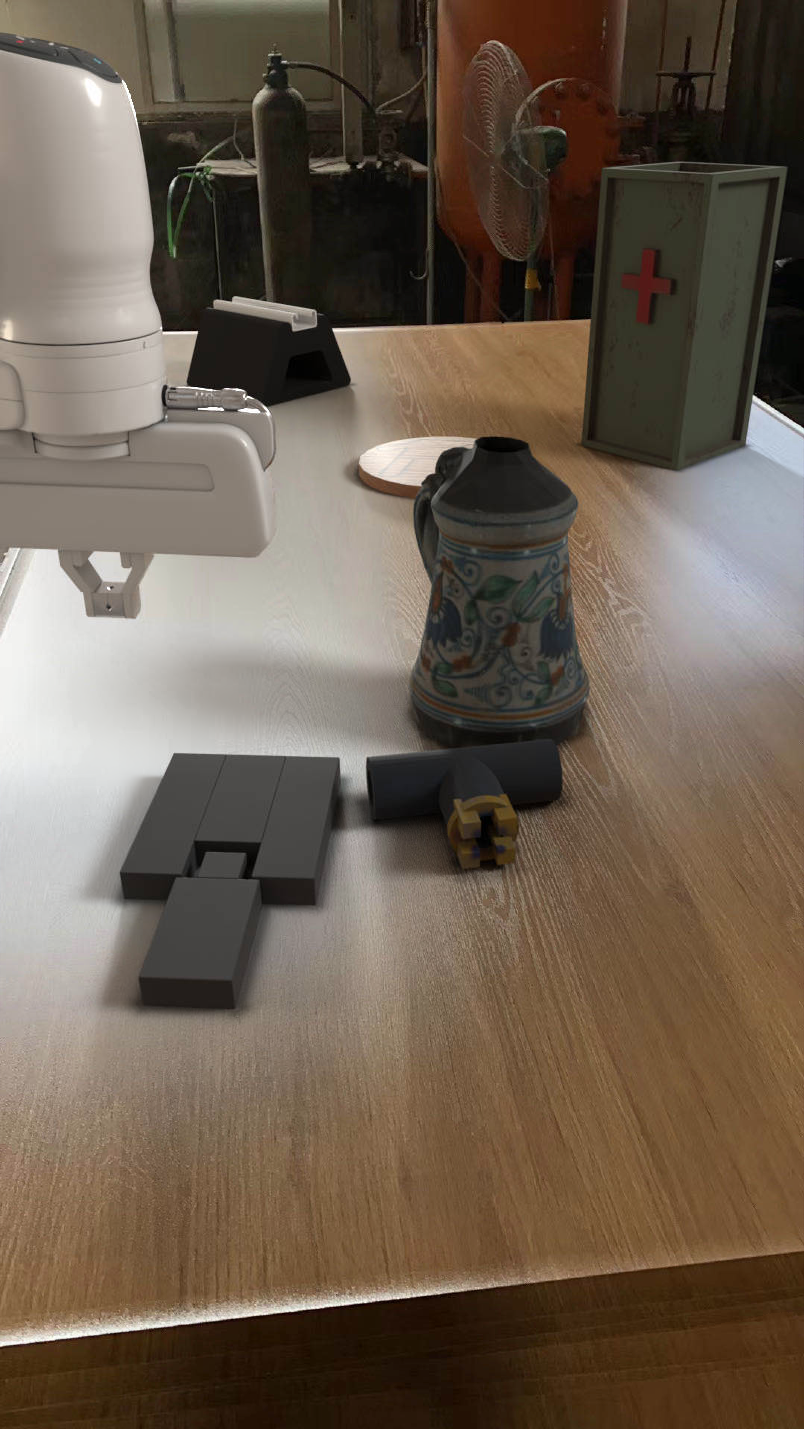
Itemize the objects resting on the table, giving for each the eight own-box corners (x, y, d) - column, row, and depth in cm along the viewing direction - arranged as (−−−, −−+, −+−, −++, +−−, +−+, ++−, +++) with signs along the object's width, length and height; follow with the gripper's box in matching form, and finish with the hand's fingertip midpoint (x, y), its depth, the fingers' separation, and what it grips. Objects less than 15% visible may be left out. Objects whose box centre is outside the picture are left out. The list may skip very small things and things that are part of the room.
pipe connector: (590, 802, 79) (387, 824, 77) (585, 861, 82) (388, 884, 80) (546, 726, 89) (365, 743, 87) (543, 780, 92) (367, 799, 90)
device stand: (262, 407, 198) (256, 320, 190) (187, 387, 211) (178, 306, 204) (351, 384, 212) (348, 303, 204) (274, 367, 225) (269, 290, 218)
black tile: (142, 1006, 70) (137, 977, 68) (189, 877, 81) (185, 850, 79) (235, 1009, 69) (232, 980, 68) (269, 880, 80) (266, 853, 79)
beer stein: (545, 778, 92) (564, 491, 79) (349, 722, 100) (338, 455, 87) (612, 694, 104) (637, 434, 92) (432, 651, 112) (433, 407, 100)
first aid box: (581, 445, 175) (601, 168, 155) (650, 423, 186) (678, 161, 166) (676, 470, 163) (712, 174, 143) (745, 446, 174) (787, 166, 154)
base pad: (123, 899, 79) (119, 872, 77) (177, 777, 92) (173, 752, 91) (316, 906, 78) (314, 878, 77) (340, 781, 92) (339, 756, 90)
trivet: (342, 495, 155) (342, 482, 154) (377, 445, 176) (376, 433, 175) (518, 504, 151) (518, 491, 150) (531, 451, 172) (532, 439, 171)
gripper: (283, 376, 62) (291, 600, 69) (-69, 365, 63) (-26, 586, 70) (263, 405, 56) (274, 645, 63) (-122, 392, 57) (-69, 629, 64)
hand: (114, 614), depth 66 cm, fingers closed
